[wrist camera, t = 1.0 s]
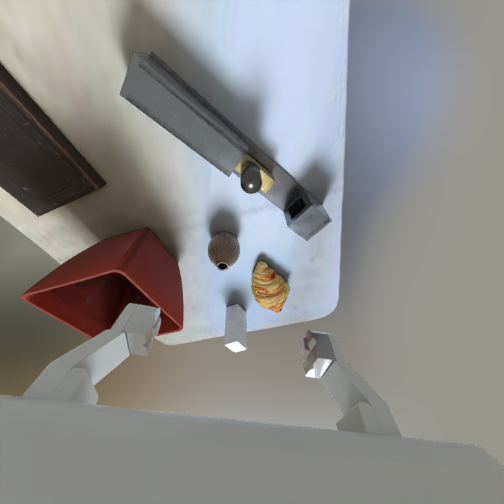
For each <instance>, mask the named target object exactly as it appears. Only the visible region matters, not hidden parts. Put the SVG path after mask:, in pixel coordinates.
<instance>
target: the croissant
mask: <svg viewBox="0 0 504 504" xmlns="http://www.w3.org/2000/svg"><path fill="white" fill-rule="evenodd" d="M289 291H290V287H289V285H288V283H286V282H285V281H284V279H283V278H282V277H281V276H279V275H278V274H276V273H275V271H274V270H273V269H271V268H269V266H268V265H267V264H266V263H265V262H263V261H260V262H258V263H257V265H256V268H255V270H254V273H253V275H252V292H253V295H254V297H255V300H256V301H257V303H258V304H259V305H260V306H262V307H263V308H267V309H271V310H272V311H275V312H276V313H277V312H280V311H281V310H282V306H283V304H284V302H285V301H286V299H287V295H288V293H289Z"/></svg>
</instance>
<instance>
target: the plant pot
mask: <svg viewBox="0 0 504 504" xmlns="http://www.w3.org/2000/svg"><path fill="white" fill-rule="evenodd" d="M21 298H22V299H23V300H24V301H25V302H27V303H29V304H31V305H33V306H34V307H36V308H38V309H40V310H41V311H43V312H45V313H47V314H49V315H50V316H52V317H54V318H56V319H58V320H60V321H62V322H63V323H65V324H67V325H68V326H70V327H72V328H74V329H75V330H77V331H79V332H81V333H82V334H84V335H86V336H88V337H90V338H91V339H92V338H93V337H95V336H97V335H98V334H100V333H102V332H103V331H105V330H110V329H111V328H112V326H113V325H114V323H115V322H116V320H117V319H118V317H119V316H120V315H121V313H122V312H123V310H124V309H125V307H126V306H127V305H128V304H129V303H133V304H140V305H145V306H151V307H156V308H160V315H159V316H160V318H161V325H160V328H159V331H158V334H157V336H159V335H163V334H168V333H173V332H178V331H181V330H182V329H183V290H182V281H181V275H180V270H179V266H178V263H177V262H176V260H175V259H174V258H173V256H172V255H171V254H170V253H169V251H168V250H167V249H166V247H165V246H164V245H163V243H162V242H161V241H160V240H159V238H158V237H157V236H156V234H155V233H154V232H153V230H152V229H150V228H143V229H139V230H136V231H133V232H129V233H126V234H123V235H119V236H116V237H112V238H109V239H106V240H103V241H101V242H99V243H97V244H95V245H93V246H91V247H89V248H87V249H86V250H84V251H82V252H81V253H79V254H77V255H76V256H74V257H72V258H71V259H69V260H68V261H66V262H65V263H63V264H62V265H60V266H59V267H57V268H56V269H55V270H53V271H52V272H50V273H49V274H48V275H47V276H45V277H44V278H42V279H41V280H40V281H38V282H37V283H36V284H35V285H33V286H32V287H31V288H30V289H28V290H27V291H26V292H25V293H24V294H23V295H22V296H21Z"/></svg>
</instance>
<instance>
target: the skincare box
mask: <svg viewBox="0 0 504 504" xmlns="http://www.w3.org/2000/svg"><path fill="white" fill-rule="evenodd" d="M246 341H247V335H246V312H245V311H244V310H243V309H242V308H241V307H240V306H239V305H238V304H235V305H232V306H229V307H227V308H226V323H225V340H224V345H226V346H227V347H228V348H230V349H231V350H232V351H234V352H238V351H242V350H246V349H247V342H246Z"/></svg>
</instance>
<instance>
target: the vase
mask: <svg viewBox="0 0 504 504" xmlns="http://www.w3.org/2000/svg"><path fill="white" fill-rule="evenodd" d="M239 254H240V246H239V242H238V240H237V239H236V237H235V236H233V235H232V234H230V233H226V232H222V233H218V234H216V235H215V236H214V237H213V238H212V239H211V241H210V242H209V246H208V255H209V258H210V260H211V262H212V263H213V264H214V265H216V267H217V268H218V269H219V270H222V271H224V270H227V269H228V268H229V267H230V266H232V265H233V264H234V263H235V262H236V261H237V259H238V257H239Z"/></svg>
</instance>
